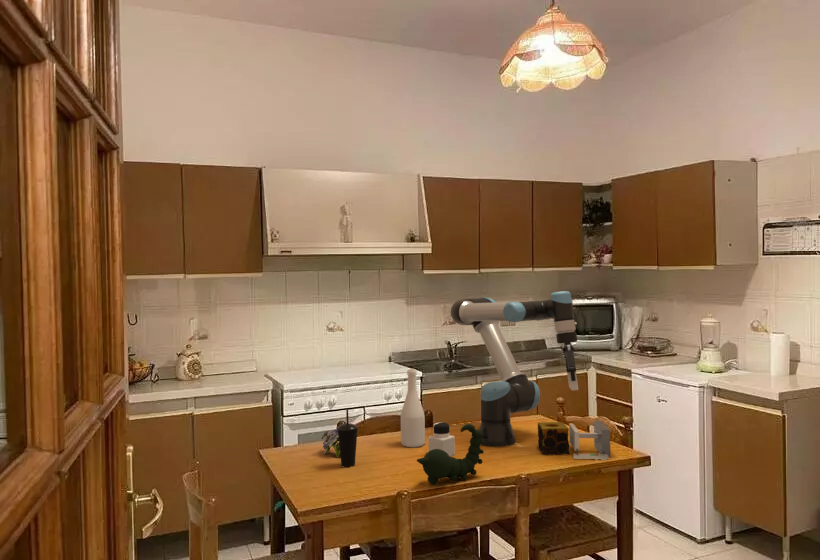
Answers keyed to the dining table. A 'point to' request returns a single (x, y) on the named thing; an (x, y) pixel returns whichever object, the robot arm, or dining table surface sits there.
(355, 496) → the dining table surface
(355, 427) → the drinking cup
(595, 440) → the grey open frame block
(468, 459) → the toy figurine
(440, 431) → the medicine bottle
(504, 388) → the robot arm
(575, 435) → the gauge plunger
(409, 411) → the wine bottle
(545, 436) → the black and yellow cube
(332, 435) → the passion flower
